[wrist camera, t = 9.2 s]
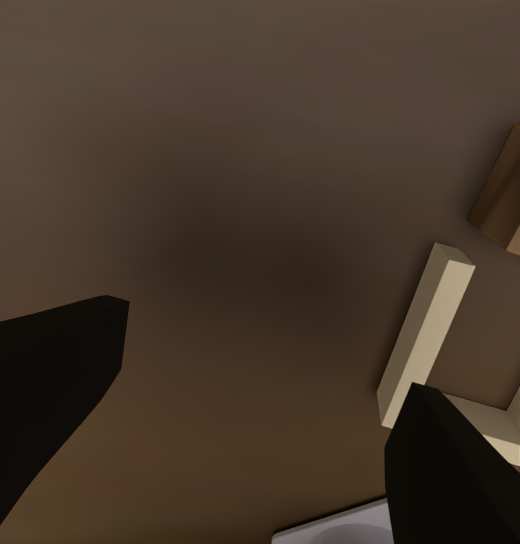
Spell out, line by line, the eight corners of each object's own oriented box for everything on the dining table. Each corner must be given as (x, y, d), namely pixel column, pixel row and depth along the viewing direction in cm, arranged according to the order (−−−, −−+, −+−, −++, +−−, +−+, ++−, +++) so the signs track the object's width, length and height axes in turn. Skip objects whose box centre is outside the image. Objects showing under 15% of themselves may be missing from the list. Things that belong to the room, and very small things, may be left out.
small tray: (518, 433, 21) (541, 472, 19) (376, 392, 22) (381, 425, 19) (600, 285, 18) (639, 309, 16) (434, 242, 19) (449, 259, 16)
